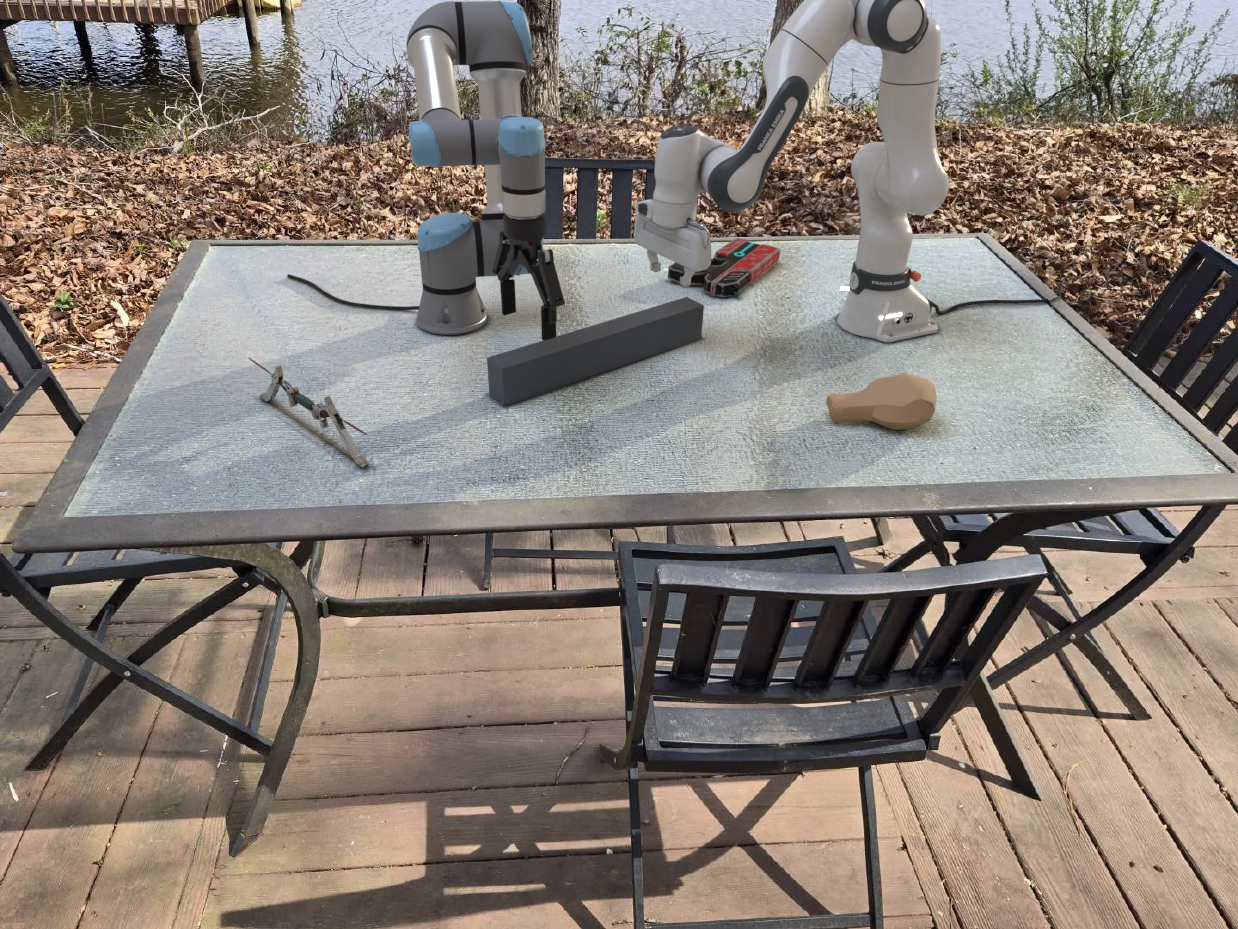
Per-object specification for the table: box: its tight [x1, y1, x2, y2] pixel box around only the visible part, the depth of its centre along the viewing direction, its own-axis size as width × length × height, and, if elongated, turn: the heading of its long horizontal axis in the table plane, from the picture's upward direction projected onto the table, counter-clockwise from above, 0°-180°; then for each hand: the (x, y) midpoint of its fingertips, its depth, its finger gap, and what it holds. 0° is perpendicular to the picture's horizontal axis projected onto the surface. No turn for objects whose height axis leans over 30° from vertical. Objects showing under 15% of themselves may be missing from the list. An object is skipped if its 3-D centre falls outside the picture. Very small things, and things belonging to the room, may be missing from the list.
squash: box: [825, 372, 938, 431], centre depth 163 cm, size 11×20×9 cm, turn 90°
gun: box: [667, 237, 781, 299], centre depth 224 cm, size 4×31×19 cm
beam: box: [486, 296, 705, 407], centre depth 179 cm, size 51×6×8 cm, turn 128°
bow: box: [247, 356, 370, 468], centre depth 154 cm, size 39×2×10 cm, turn 47°
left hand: (528, 325), depth 164 cm, fingers open, 13 cm apart
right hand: (669, 278), depth 182 cm, fingers open, 8 cm apart
